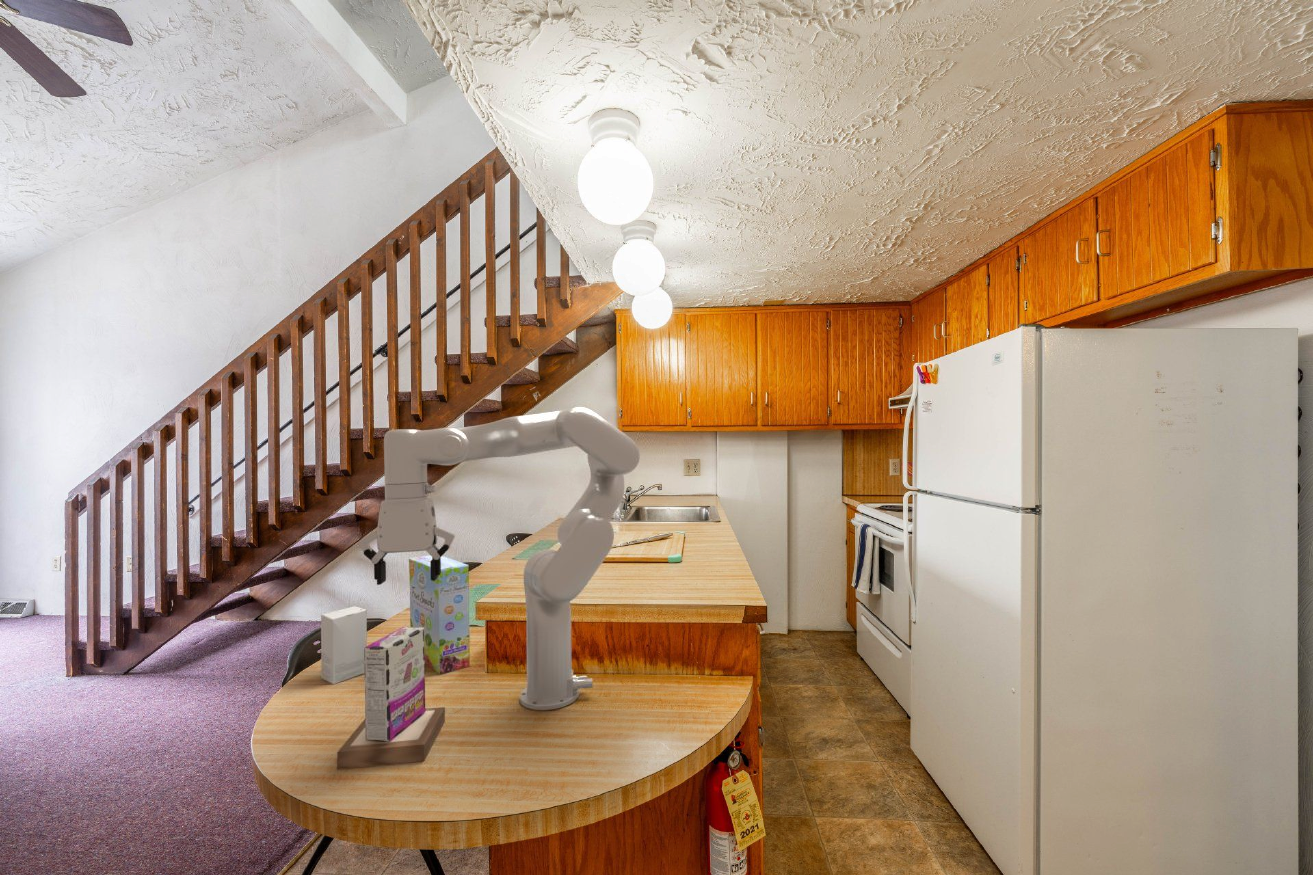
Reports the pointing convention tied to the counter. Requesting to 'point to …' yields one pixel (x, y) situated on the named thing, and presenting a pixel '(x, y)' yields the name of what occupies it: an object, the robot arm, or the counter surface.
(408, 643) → the candy bar box
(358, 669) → the skincare box
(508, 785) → the counter surface
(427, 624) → the snack box
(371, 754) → the base
